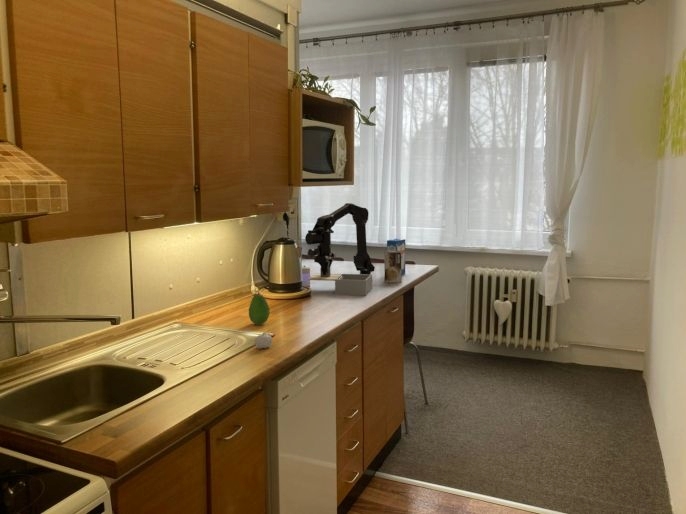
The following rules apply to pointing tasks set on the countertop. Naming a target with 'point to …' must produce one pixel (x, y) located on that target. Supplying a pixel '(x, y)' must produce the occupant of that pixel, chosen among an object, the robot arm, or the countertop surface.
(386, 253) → the coffee box
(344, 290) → the box
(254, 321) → the avocado
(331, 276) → the cover plate
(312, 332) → the countertop surface
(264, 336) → the garlic
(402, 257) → the milk carton
